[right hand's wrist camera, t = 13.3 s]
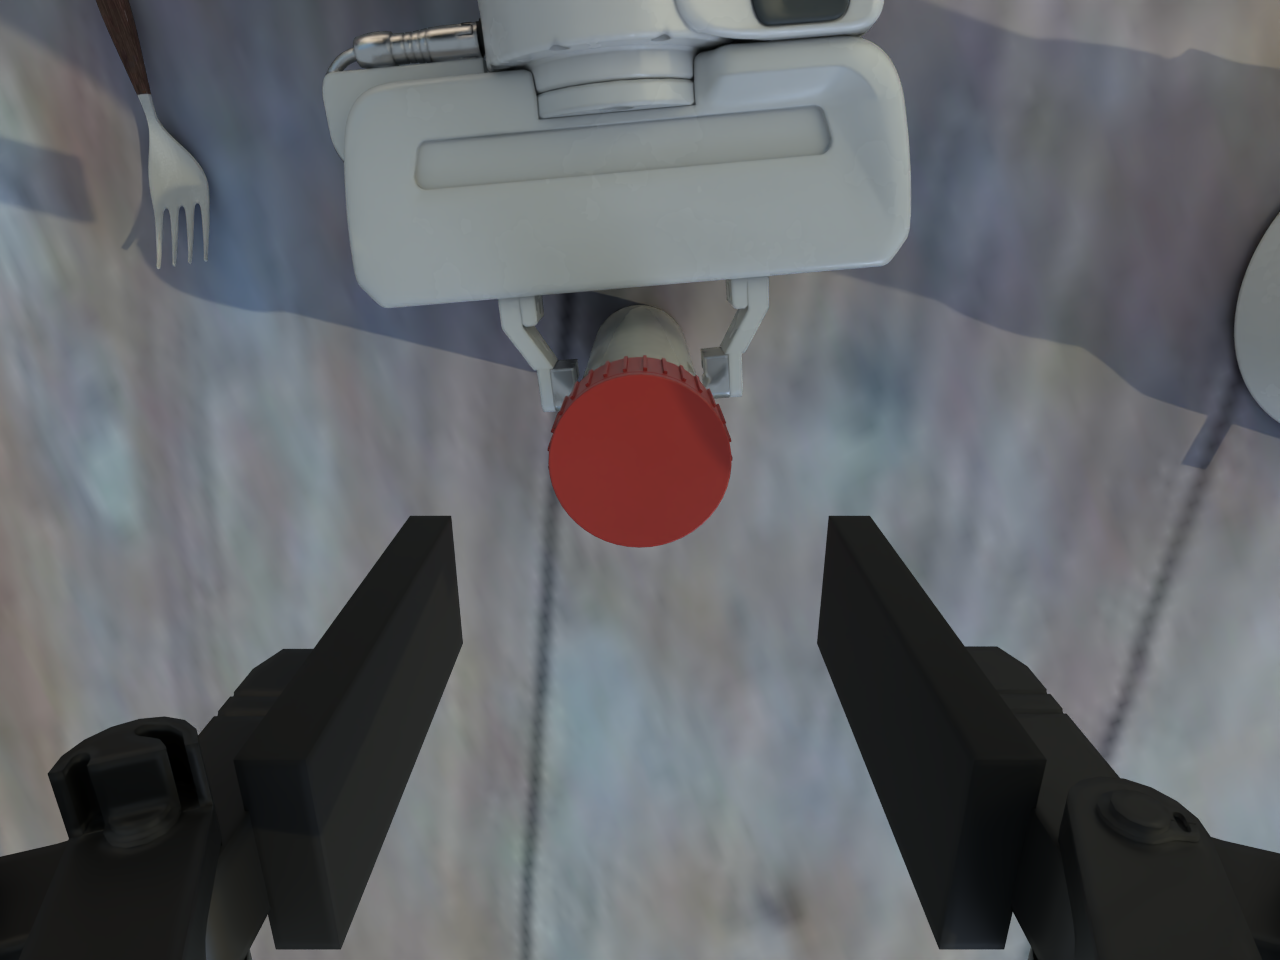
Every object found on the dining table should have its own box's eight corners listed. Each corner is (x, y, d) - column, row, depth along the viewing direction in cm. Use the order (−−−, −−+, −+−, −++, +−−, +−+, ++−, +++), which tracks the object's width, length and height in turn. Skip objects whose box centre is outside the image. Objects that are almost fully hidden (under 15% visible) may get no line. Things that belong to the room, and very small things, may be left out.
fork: (96, -172, 29) (59, -197, 27) (234, 257, 35) (210, 260, 33) (31, -160, 29) (-11, -184, 27) (178, 266, 35) (152, 270, 33)
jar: (607, 293, 35) (582, 362, 20) (697, 319, 36) (739, 406, 21) (583, 383, 37) (544, 510, 22) (671, 407, 37) (692, 548, 22)
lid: (578, 333, 22) (570, 348, 20) (747, 380, 23) (760, 400, 20) (537, 493, 24) (526, 524, 21) (696, 534, 24) (702, 569, 22)
